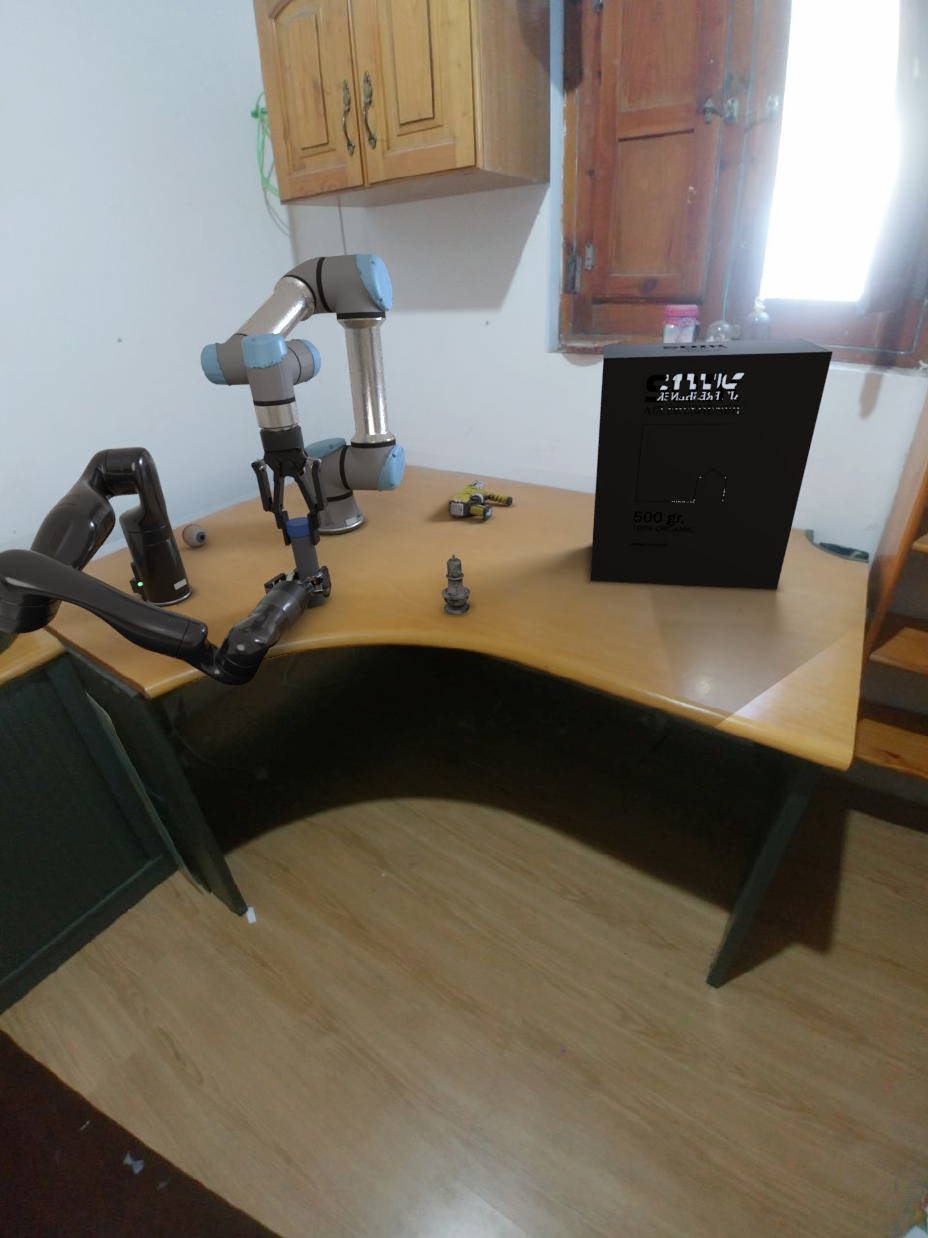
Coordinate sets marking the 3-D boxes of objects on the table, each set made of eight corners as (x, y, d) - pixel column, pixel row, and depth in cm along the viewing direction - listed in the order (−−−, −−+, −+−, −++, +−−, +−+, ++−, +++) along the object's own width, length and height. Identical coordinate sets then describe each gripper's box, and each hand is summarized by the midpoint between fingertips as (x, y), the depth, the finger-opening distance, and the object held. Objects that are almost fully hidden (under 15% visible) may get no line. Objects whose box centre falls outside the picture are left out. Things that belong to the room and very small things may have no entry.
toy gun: (520, 484, 182) (474, 477, 186) (498, 508, 162) (446, 499, 166) (519, 500, 184) (473, 492, 188) (497, 524, 164) (445, 516, 168)
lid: (300, 526, 125) (298, 515, 124) (319, 530, 123) (317, 519, 121) (282, 534, 121) (279, 523, 120) (300, 539, 119) (298, 527, 118)
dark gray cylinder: (314, 595, 133) (299, 518, 124) (329, 599, 131) (315, 521, 122) (299, 603, 129) (282, 525, 121) (314, 608, 127) (298, 529, 118)
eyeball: (196, 552, 157) (189, 530, 154) (181, 548, 160) (174, 526, 157) (215, 543, 161) (209, 522, 158) (200, 540, 165) (193, 519, 162)
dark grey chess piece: (468, 615, 121) (465, 561, 115) (439, 614, 122) (435, 559, 116) (473, 601, 126) (471, 548, 120) (446, 600, 127) (442, 547, 121)
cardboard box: (756, 549, 141) (800, 338, 118) (776, 589, 124) (832, 351, 101) (592, 544, 148) (604, 344, 126) (590, 580, 131) (603, 357, 109)
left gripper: (250, 623, 118) (286, 584, 132) (320, 626, 115) (348, 585, 130) (241, 589, 114) (279, 552, 128) (313, 591, 112) (343, 553, 126)
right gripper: (332, 420, 114) (350, 535, 125) (241, 423, 116) (267, 536, 127) (320, 429, 107) (340, 549, 119) (224, 432, 109) (253, 550, 121)
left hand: (314, 569), depth 129 cm, fingers closed on dark gray cylinder, 4 cm apart
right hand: (302, 542), depth 123 cm, fingers closed on lid, 5 cm apart
